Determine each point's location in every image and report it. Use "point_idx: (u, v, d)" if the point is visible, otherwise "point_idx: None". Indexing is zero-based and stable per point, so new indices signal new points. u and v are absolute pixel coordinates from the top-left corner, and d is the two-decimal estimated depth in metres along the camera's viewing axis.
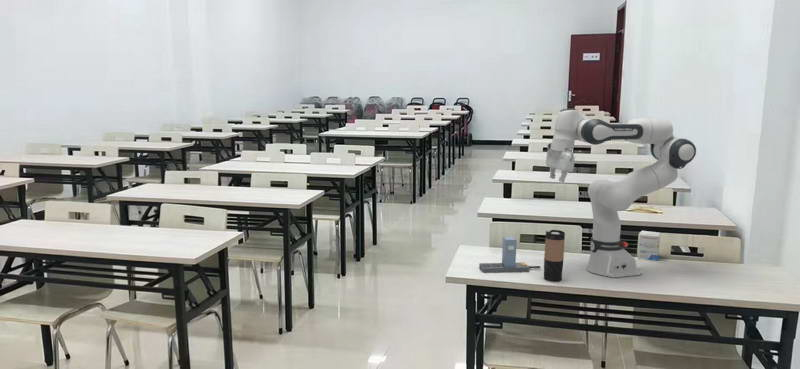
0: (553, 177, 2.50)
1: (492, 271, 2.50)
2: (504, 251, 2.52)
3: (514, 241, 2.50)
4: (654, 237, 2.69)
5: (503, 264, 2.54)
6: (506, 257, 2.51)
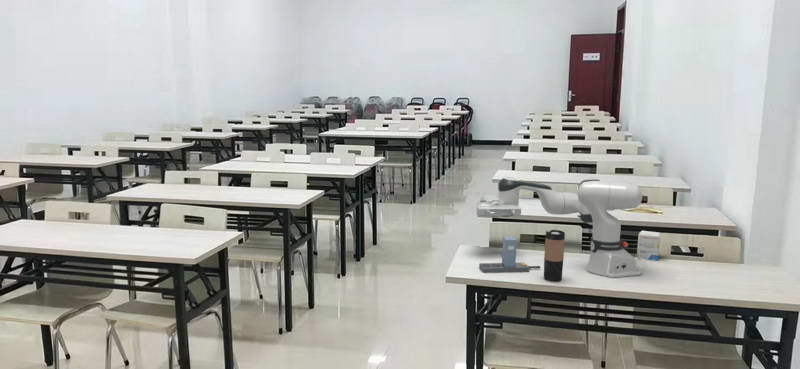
0: None
1: (492, 271, 2.50)
2: (504, 251, 2.52)
3: (514, 241, 2.50)
4: (654, 237, 2.69)
5: (503, 264, 2.54)
6: (506, 257, 2.51)
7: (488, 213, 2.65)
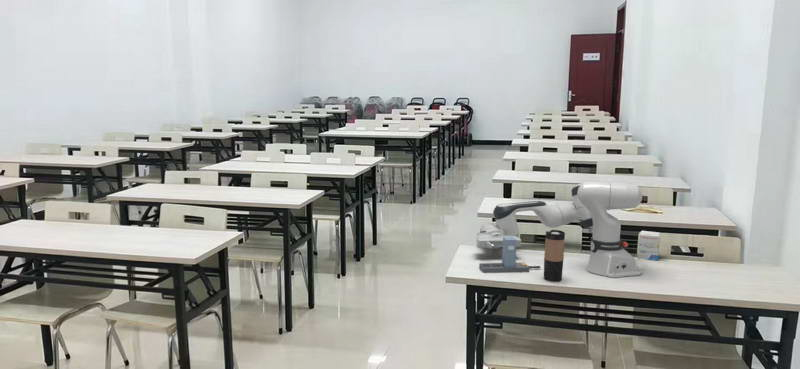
0: None
1: (492, 271, 2.50)
2: (504, 251, 2.52)
3: (514, 241, 2.50)
4: (654, 237, 2.69)
5: (503, 264, 2.54)
6: (506, 257, 2.51)
7: (488, 245, 2.64)
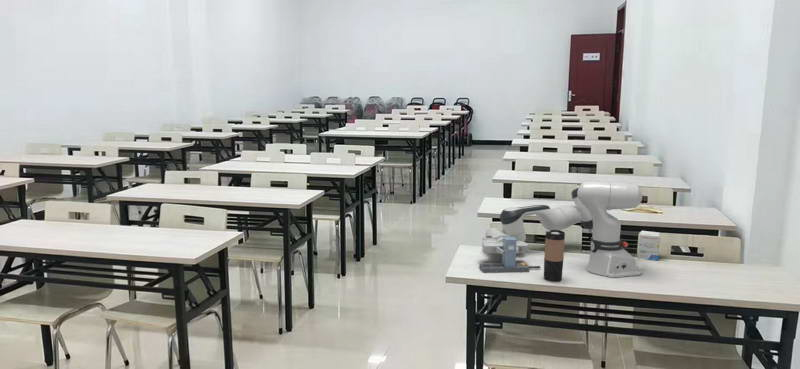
0: None
1: (492, 271, 2.50)
2: None
3: (514, 241, 2.50)
4: (654, 237, 2.69)
5: (503, 264, 2.54)
6: (506, 257, 2.51)
7: (498, 250, 2.54)
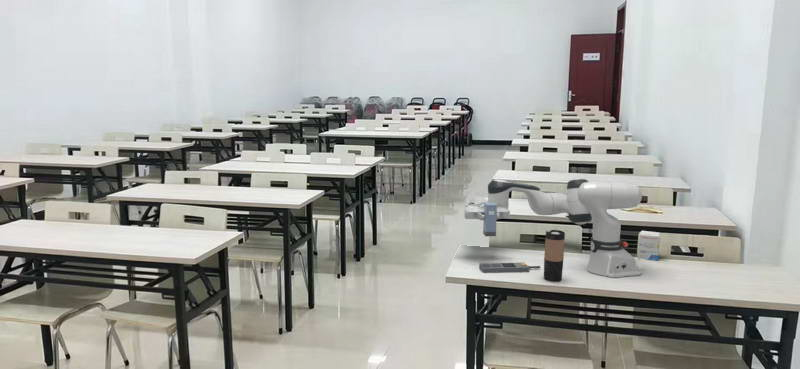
0: None
1: (492, 271, 2.50)
2: (485, 216, 2.57)
3: (494, 206, 2.55)
4: (654, 237, 2.69)
5: (484, 229, 2.59)
6: (487, 222, 2.56)
7: (479, 216, 2.60)
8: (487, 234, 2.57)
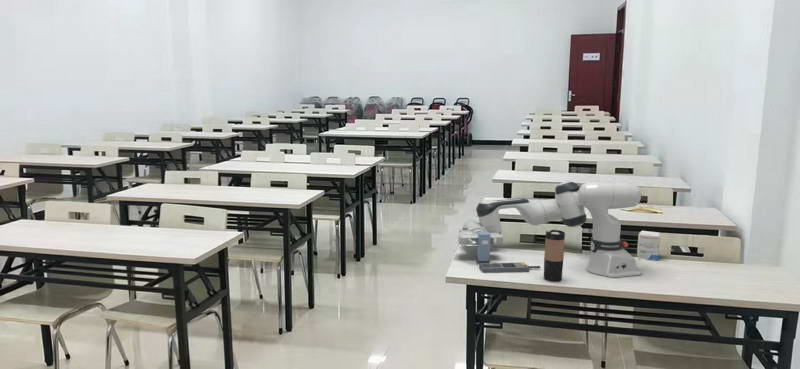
0: None
1: (492, 271, 2.50)
2: (479, 245, 2.60)
3: (488, 236, 2.58)
4: (654, 237, 2.69)
5: (478, 258, 2.62)
6: (480, 252, 2.59)
7: (469, 242, 2.62)
8: None
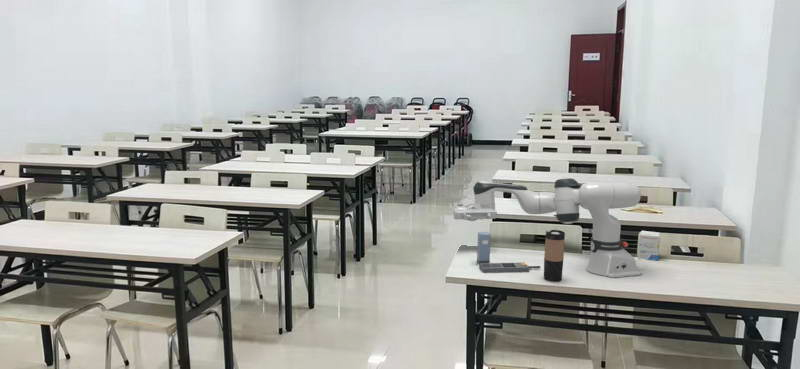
0: None
1: (492, 271, 2.50)
2: (479, 245, 2.60)
3: (488, 236, 2.58)
4: (654, 237, 2.69)
5: (478, 258, 2.62)
6: (480, 252, 2.59)
7: (464, 216, 2.73)
8: None
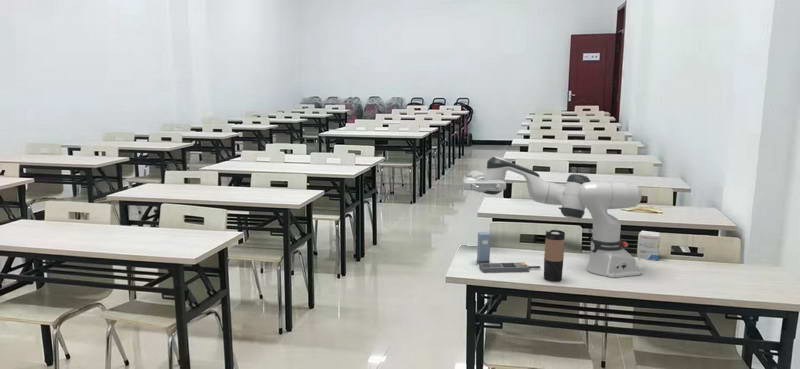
0: None
1: (492, 271, 2.50)
2: (479, 245, 2.60)
3: (488, 236, 2.58)
4: (654, 237, 2.69)
5: (478, 258, 2.62)
6: (480, 252, 2.59)
7: (474, 187, 2.71)
8: None
